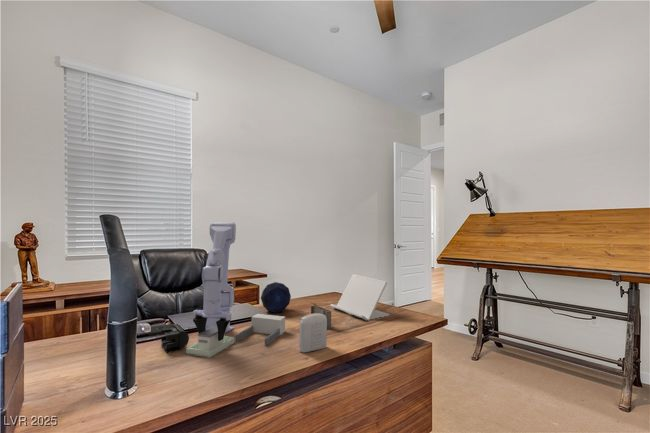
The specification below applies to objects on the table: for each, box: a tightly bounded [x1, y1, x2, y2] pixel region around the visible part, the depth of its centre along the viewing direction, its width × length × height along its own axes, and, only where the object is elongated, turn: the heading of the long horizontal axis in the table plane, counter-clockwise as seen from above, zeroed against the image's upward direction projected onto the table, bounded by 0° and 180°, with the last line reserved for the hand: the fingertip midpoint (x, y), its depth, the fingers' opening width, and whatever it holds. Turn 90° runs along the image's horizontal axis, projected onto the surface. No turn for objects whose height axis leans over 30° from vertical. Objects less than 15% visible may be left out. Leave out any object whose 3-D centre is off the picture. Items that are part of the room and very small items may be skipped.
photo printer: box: [298, 313, 328, 353], centre depth 116 cm, size 10×4×12 cm, turn 123°
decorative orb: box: [260, 281, 292, 314], centre depth 163 cm, size 14×15×15 cm
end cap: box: [160, 323, 190, 354], centre depth 116 cm, size 10×7×7 cm
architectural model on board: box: [310, 301, 332, 330], centre depth 142 cm, size 11×3×10 cm, turn 38°
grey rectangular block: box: [197, 326, 226, 351], centre depth 115 cm, size 5×10×6 cm, turn 163°
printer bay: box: [235, 313, 286, 347], centre depth 128 cm, size 13×16×6 cm
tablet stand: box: [330, 273, 390, 321], centre depth 163 cm, size 18×25×17 cm
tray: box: [185, 335, 235, 359], centre depth 115 cm, size 10×14×2 cm
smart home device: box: [137, 323, 174, 336], centre depth 132 cm, size 8×2×20 cm
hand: (211, 338), depth 115 cm, fingers open, 7 cm apart
